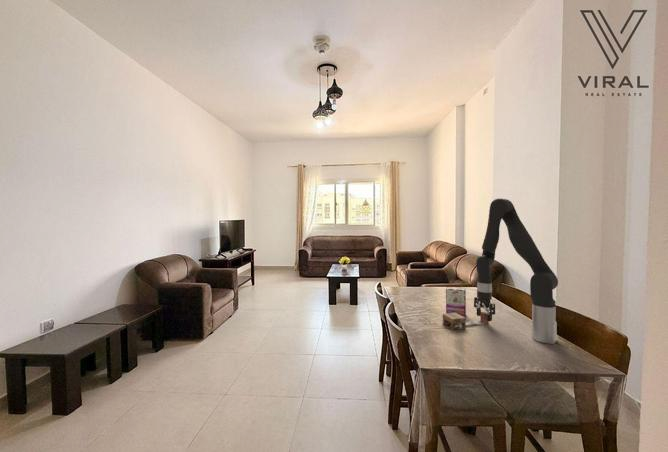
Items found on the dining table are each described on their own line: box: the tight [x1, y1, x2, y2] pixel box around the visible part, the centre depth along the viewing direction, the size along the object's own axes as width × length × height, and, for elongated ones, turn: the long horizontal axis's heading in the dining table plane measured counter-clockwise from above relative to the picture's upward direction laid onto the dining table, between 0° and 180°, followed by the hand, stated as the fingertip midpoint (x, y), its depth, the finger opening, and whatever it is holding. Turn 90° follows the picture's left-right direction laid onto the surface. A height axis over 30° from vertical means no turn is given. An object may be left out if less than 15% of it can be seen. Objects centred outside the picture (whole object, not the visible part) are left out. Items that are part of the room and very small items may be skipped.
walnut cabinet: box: [442, 313, 467, 331], centre depth 159 cm, size 8×9×6 cm
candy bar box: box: [445, 286, 467, 318], centre depth 178 cm, size 11×5×16 cm, turn 62°
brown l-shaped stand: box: [466, 311, 490, 327], centre depth 162 cm, size 15×4×6 cm, turn 102°
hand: (484, 318), depth 164 cm, fingers open, 8 cm apart
